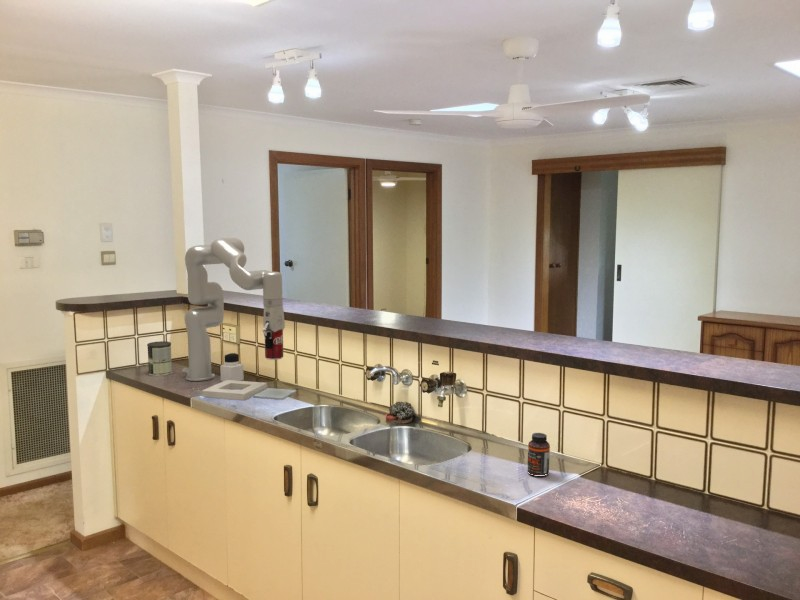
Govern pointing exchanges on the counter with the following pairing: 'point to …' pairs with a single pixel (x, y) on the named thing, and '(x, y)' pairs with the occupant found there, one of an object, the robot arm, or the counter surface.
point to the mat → (275, 393)
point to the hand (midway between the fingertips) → (274, 346)
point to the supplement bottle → (538, 454)
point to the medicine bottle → (232, 368)
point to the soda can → (275, 346)
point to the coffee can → (159, 358)
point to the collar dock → (244, 393)
